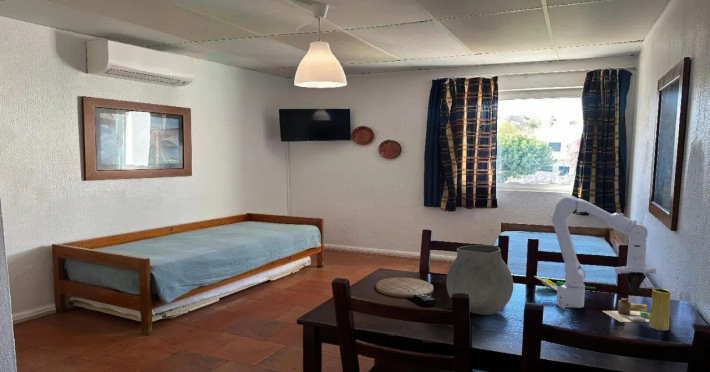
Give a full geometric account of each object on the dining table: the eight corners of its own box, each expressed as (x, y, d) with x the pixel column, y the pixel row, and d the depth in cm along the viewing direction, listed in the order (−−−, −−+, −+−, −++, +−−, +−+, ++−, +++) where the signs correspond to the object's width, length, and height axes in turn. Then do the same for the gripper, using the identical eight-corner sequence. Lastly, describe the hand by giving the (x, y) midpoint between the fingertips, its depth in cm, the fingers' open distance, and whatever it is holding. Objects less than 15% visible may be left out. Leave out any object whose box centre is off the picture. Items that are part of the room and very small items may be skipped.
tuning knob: (619, 313, 174) (620, 300, 174) (616, 310, 178) (617, 297, 177) (648, 316, 172) (649, 302, 171) (644, 312, 176) (645, 299, 175)
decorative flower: (584, 289, 217) (526, 283, 211) (586, 279, 217) (528, 272, 211) (603, 299, 205) (542, 293, 199) (606, 289, 204) (544, 282, 198)
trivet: (402, 278, 222) (402, 274, 222) (445, 291, 204) (445, 286, 204) (364, 288, 205) (364, 284, 205) (407, 303, 187) (407, 298, 187)
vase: (644, 327, 165) (646, 287, 164) (660, 327, 166) (663, 287, 164) (656, 334, 159) (659, 293, 158) (673, 333, 159) (676, 293, 158)
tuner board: (620, 325, 167) (620, 319, 166) (601, 314, 178) (602, 308, 177) (662, 324, 168) (663, 319, 168) (641, 313, 179) (642, 308, 179)
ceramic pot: (467, 297, 195) (470, 238, 193) (523, 312, 178) (526, 247, 175) (432, 310, 178) (435, 246, 176) (490, 329, 160) (493, 257, 158)
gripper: (624, 258, 167) (622, 295, 168) (663, 258, 168) (660, 295, 170) (612, 254, 174) (610, 289, 175) (649, 254, 175) (646, 289, 177)
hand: (633, 292), depth 173 cm, fingers closed
